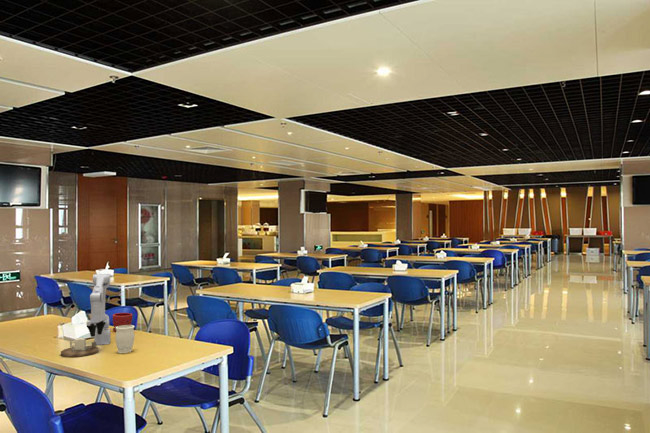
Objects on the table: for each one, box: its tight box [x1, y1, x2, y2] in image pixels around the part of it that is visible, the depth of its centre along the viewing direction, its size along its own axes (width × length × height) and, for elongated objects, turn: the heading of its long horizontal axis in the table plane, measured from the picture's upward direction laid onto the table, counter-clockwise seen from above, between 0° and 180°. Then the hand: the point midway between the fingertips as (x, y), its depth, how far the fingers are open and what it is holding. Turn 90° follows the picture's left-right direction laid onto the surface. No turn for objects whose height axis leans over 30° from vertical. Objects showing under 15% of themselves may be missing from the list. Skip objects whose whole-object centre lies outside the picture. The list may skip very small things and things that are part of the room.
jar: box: [114, 324, 135, 354], centre depth 289 cm, size 11×10×15 cm
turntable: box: [60, 341, 100, 358], centre depth 286 cm, size 20×20×4 cm
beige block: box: [69, 337, 87, 350], centre depth 286 cm, size 8×5×6 cm, turn 107°
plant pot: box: [112, 312, 133, 332], centre depth 348 cm, size 13×13×12 cm
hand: (96, 335), depth 290 cm, fingers open, 6 cm apart
